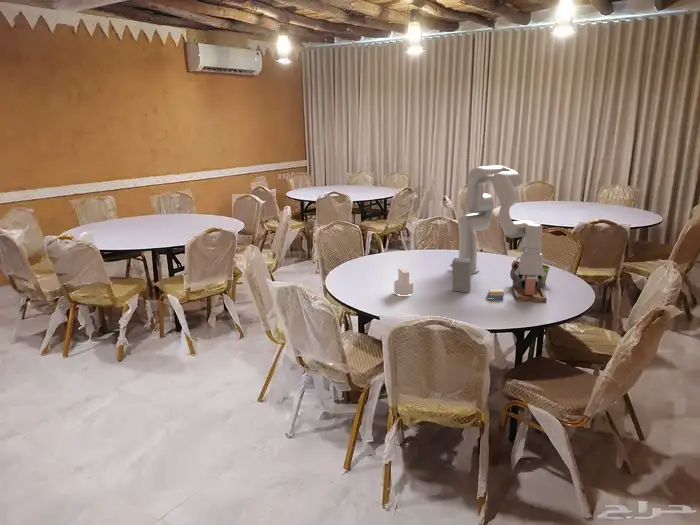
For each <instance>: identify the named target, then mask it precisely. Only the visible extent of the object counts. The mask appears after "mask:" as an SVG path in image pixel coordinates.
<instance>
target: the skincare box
mask: <svg viewBox="0 0 700 525" xmlns="http://www.w3.org/2000/svg"><path fill="white" fill-rule="evenodd" d="M451 263H452V271H451V272H452V273H451V274H452V292H453V291H461V292H460V293H470V292H471V291H470V290H471V286H472V284H471V283H472V282H471V281H472V280H471V279H472V277H471V276H472V274H471V258H459V257H454V258H453V259H452V262H451Z"/></svg>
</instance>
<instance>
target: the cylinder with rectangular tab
mask: <svg viewBox="0 0 700 525" xmlns="http://www.w3.org/2000/svg"><path fill="white" fill-rule="evenodd" d="M397 269H398V270H397V272H398V274H397V276H398V277H397V279H396V280H394V281H393V282H394V283H393V293H394V292H395V293H396V294H400V295H408V294H412V293H413V294H414V281H413V280H411V279H410V271H408V269H406V268H405V267H404V266H403V267H398V268H397Z"/></svg>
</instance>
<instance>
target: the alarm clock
mask: <svg viewBox="0 0 700 525" xmlns="http://www.w3.org/2000/svg"><path fill="white" fill-rule="evenodd" d="M520 257H521V256H518V257H517V258H516V260H513V262H511V269H510V272H509V274H510V279H511V281H513V272H514V271H516V270H517V268H518V267H519V262H520ZM518 260H519V261H518Z"/></svg>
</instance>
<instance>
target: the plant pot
mask: <svg viewBox="0 0 700 525" xmlns="http://www.w3.org/2000/svg"><path fill="white" fill-rule="evenodd" d="M550 269H551V266H550V265H546V264H543V270H544V272H545V273H546V275H545V276H543V277H542V284H543V285H545V284H546V280H547V278H548V277H547V276H548V273H549V271H550Z"/></svg>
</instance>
